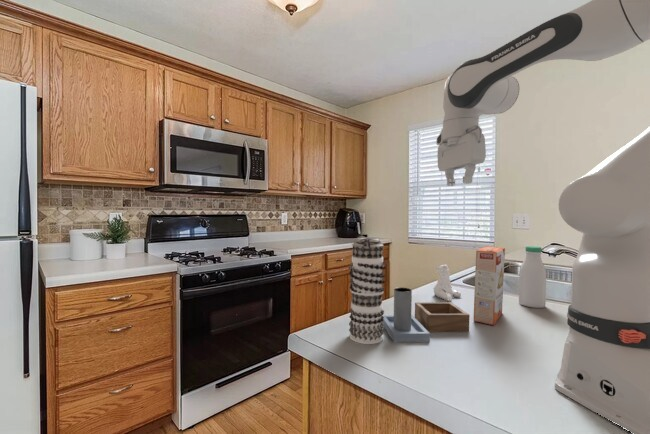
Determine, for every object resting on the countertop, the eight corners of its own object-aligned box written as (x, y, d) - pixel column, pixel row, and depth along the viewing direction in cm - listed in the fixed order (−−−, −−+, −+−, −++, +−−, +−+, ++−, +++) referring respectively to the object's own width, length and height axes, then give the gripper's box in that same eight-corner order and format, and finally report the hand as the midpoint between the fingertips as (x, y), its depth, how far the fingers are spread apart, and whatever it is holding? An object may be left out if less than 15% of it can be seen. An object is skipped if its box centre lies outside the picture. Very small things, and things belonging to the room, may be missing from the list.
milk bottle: (550, 308, 105) (552, 248, 105) (527, 308, 105) (529, 248, 105) (535, 301, 113) (537, 245, 112) (513, 301, 113) (515, 245, 112)
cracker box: (495, 326, 89) (498, 251, 88) (472, 321, 92) (474, 249, 92) (504, 313, 100) (505, 247, 99) (482, 309, 103) (484, 245, 103)
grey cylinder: (412, 331, 82) (412, 292, 82) (394, 330, 83) (394, 291, 82) (409, 325, 87) (410, 287, 86) (392, 324, 87) (393, 287, 87)
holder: (469, 331, 85) (469, 314, 85) (428, 331, 84) (428, 314, 84) (450, 317, 96) (451, 302, 96) (414, 317, 95) (415, 302, 95)
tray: (429, 341, 78) (429, 333, 78) (393, 341, 78) (393, 333, 78) (412, 322, 91) (412, 315, 91) (381, 322, 91) (381, 315, 91)
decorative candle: (392, 338, 80) (394, 238, 79) (368, 348, 74) (369, 241, 73) (365, 327, 87) (366, 236, 86) (340, 336, 81) (341, 237, 80)
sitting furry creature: (449, 302, 111) (450, 268, 111) (427, 296, 118) (427, 264, 118) (462, 297, 118) (463, 265, 117) (440, 292, 124) (441, 261, 124)
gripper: (493, 123, 75) (492, 181, 76) (454, 141, 96) (453, 187, 96) (467, 122, 75) (466, 181, 76) (433, 140, 96) (432, 186, 96)
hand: (458, 184), depth 86 cm, fingers open, 8 cm apart
